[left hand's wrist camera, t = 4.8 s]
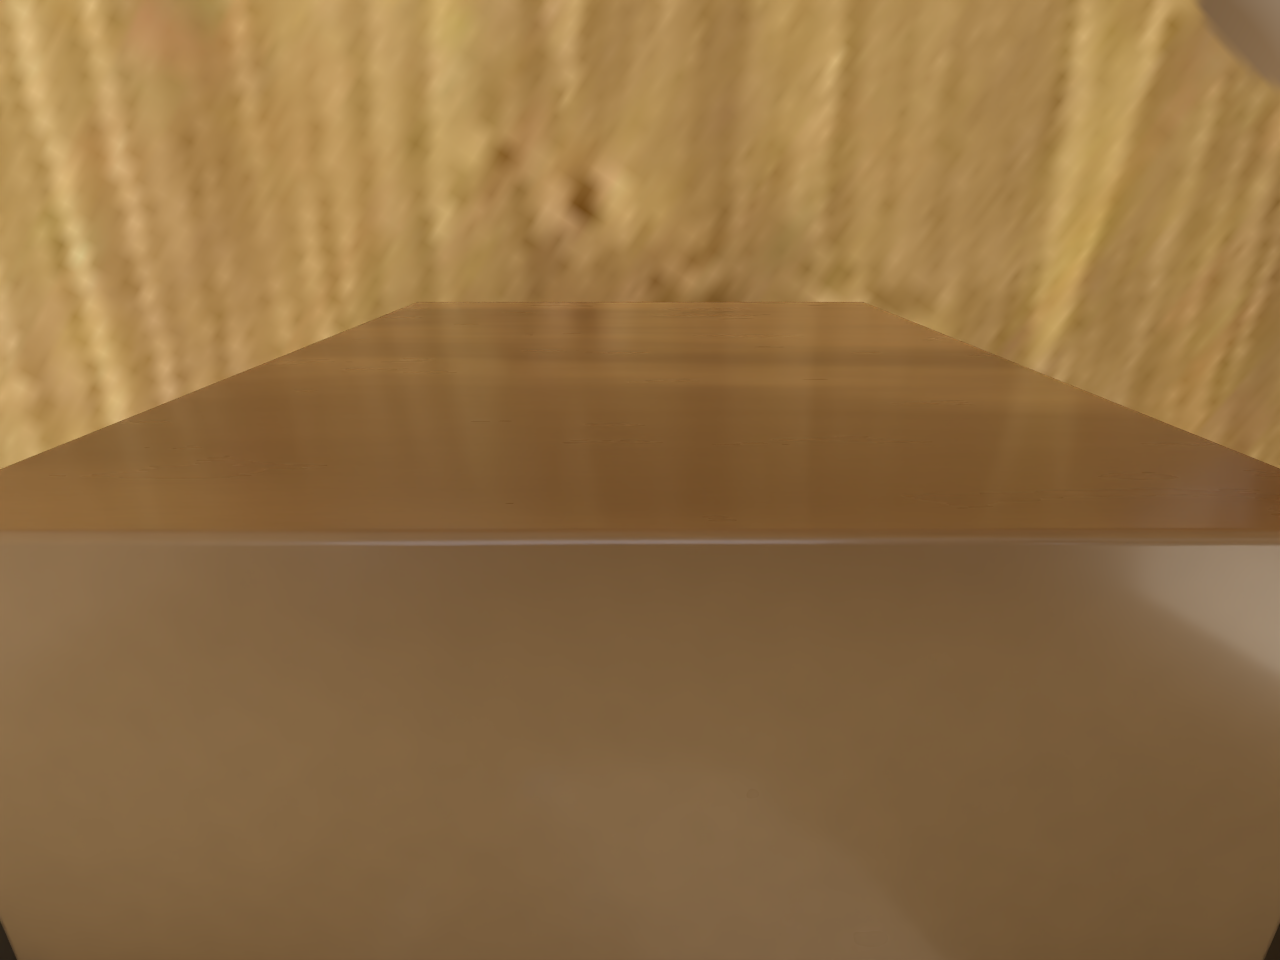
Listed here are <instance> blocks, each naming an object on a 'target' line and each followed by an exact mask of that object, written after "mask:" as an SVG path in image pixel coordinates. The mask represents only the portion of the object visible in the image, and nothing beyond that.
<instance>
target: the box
mask: <svg viewBox="0 0 1280 960" xmlns="http://www.w3.org/2000/svg"><path fill="white" fill-rule="evenodd" d="M0 921H1V924H2V926H3V928H4V931H5V933H6V935H7V938H8V940H9V942H10V945H11V947H12V949H13V952H14V954H15V956H16V959H17V960H1264V959H1265V957H1266V954H1267V952H1268V950H1269V947H1270V945H1271V943H1272V940H1273V938H1274V936H1275V933H1276V931H1277V929H1278V926H1279V924H1280V469H1279V468H1276V467H1274V466H1271V465H1269V464H1266V463H1264V462H1261V461H1259V460H1256V459H1254V458H1251V457H1249V456H1246V455H1244V454H1241V453H1239V452H1236V451H1234V450H1231V449H1229V448H1226V447H1224V446H1221V445H1219V444H1216V443H1214V442H1211V441H1209V440H1206V439H1204V438H1201V437H1199V436H1196V435H1194V434H1191V433H1189V432H1186V431H1184V430H1181V429H1179V428H1176V427H1174V426H1171V425H1169V424H1166V423H1164V422H1161V421H1159V420H1156V419H1154V418H1151V417H1149V416H1146V415H1144V414H1141V413H1139V412H1136V411H1134V410H1131V409H1129V408H1126V407H1124V406H1121V405H1119V404H1116V403H1114V402H1111V401H1109V400H1106V399H1104V398H1101V397H1099V396H1096V395H1094V394H1091V393H1089V392H1086V391H1084V390H1081V389H1079V388H1076V387H1074V386H1071V385H1069V384H1066V383H1064V382H1061V381H1059V380H1056V379H1054V378H1051V377H1049V376H1046V375H1044V374H1041V373H1039V372H1036V371H1034V370H1031V369H1029V368H1026V367H1024V366H1021V365H1019V364H1016V363H1014V362H1011V361H1009V360H1006V359H1004V358H1001V357H999V356H996V355H994V354H991V353H989V352H986V351H984V350H981V349H979V348H976V347H974V346H971V345H969V344H966V343H964V342H961V341H959V340H956V339H954V338H951V337H949V336H946V335H944V334H941V333H939V332H936V331H934V330H931V329H929V328H926V327H924V326H921V325H919V324H916V323H914V322H911V321H909V320H906V319H904V318H901V317H899V316H896V315H894V314H891V313H889V312H886V311H884V310H881V309H879V308H876V307H874V306H871V305H869V304H866V303H864V302H416V303H414V304H411V305H409V306H406V307H404V308H401V309H399V310H396V311H394V312H391V313H389V314H386V315H384V316H382V317H379V318H377V319H374V320H372V321H369V322H367V323H364V324H362V325H359V326H357V327H354V328H352V329H349V330H347V331H344V332H342V333H339V334H337V335H334V336H332V337H329V338H327V339H324V340H322V341H319V342H317V343H314V344H312V345H309V346H307V347H304V348H302V349H299V350H297V351H294V352H292V353H289V354H287V355H284V356H282V357H279V358H277V359H274V360H272V361H269V362H267V363H264V364H262V365H259V366H257V367H254V368H252V369H249V370H247V371H244V372H242V373H239V374H237V375H234V376H232V377H229V378H227V379H224V380H222V381H219V382H217V383H214V384H212V385H210V386H207V387H205V388H202V389H200V390H197V391H195V392H192V393H190V394H187V395H185V396H182V397H180V398H177V399H175V400H172V401H170V402H167V403H165V404H162V405H160V406H157V407H155V408H152V409H150V410H147V411H145V412H142V413H140V414H137V415H135V416H132V417H130V418H127V419H125V420H122V421H120V422H117V423H115V424H112V425H110V426H107V427H105V428H102V429H100V430H97V431H95V432H92V433H90V434H87V435H85V436H82V437H80V438H77V439H75V440H72V441H70V442H67V443H65V444H62V445H60V446H57V447H55V448H52V449H50V450H47V451H45V452H42V453H40V454H38V455H35V456H33V457H30V458H28V459H25V460H23V461H20V462H18V463H15V464H13V465H10V466H8V467H5V468H3V469H0Z"/></svg>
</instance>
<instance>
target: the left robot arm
mask: <svg viewBox="0 0 1280 960" xmlns="http://www.w3.org/2000/svg"><path fill="white" fill-rule="evenodd" d="M0 960H17V959H16V956H15V954H14V952H13V949H12V947H11V945H10V942H9V940H8V938H7V935H6V933H5V931H4V928H3V926H2V924H1V921H0ZM1264 960H1280V924H1279V926H1278V929H1277V931H1276V933H1275V936H1274V938H1273V940H1272V943H1271V945H1270V947H1269V950H1268V952H1267V954H1266V957H1265V959H1264Z"/></svg>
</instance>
